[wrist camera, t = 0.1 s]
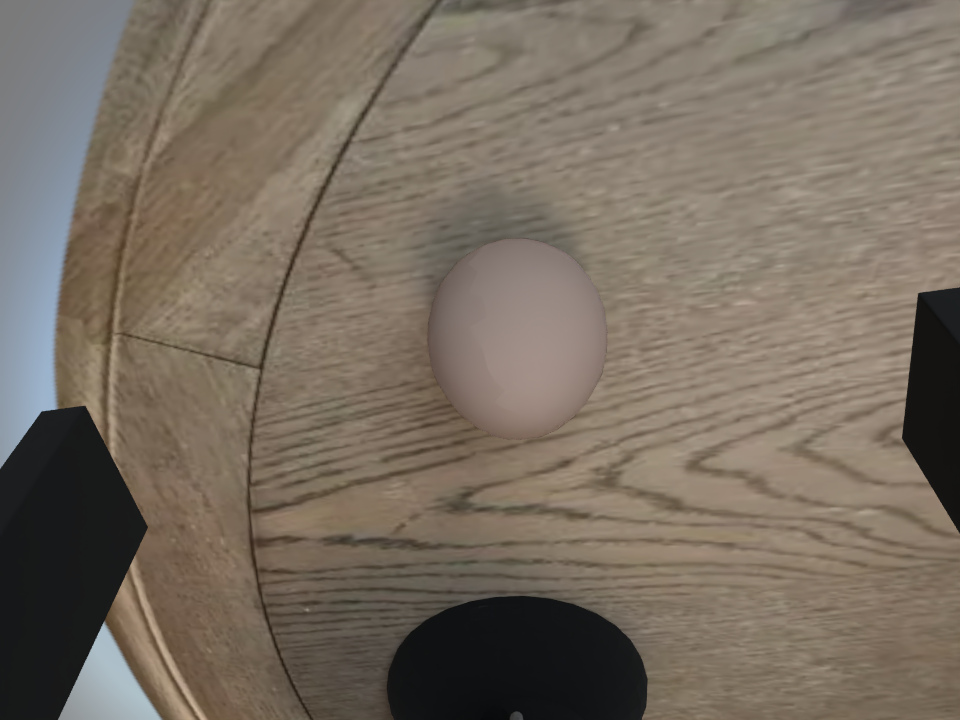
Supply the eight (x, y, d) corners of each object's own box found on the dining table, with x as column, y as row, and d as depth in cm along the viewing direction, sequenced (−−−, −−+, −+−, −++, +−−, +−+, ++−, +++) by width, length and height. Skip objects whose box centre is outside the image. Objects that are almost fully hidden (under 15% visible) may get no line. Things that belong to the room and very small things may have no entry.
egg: (469, 365, 39) (463, 510, 31) (408, 236, 35) (384, 363, 28) (616, 319, 37) (646, 459, 30) (566, 180, 34) (586, 297, 26)
